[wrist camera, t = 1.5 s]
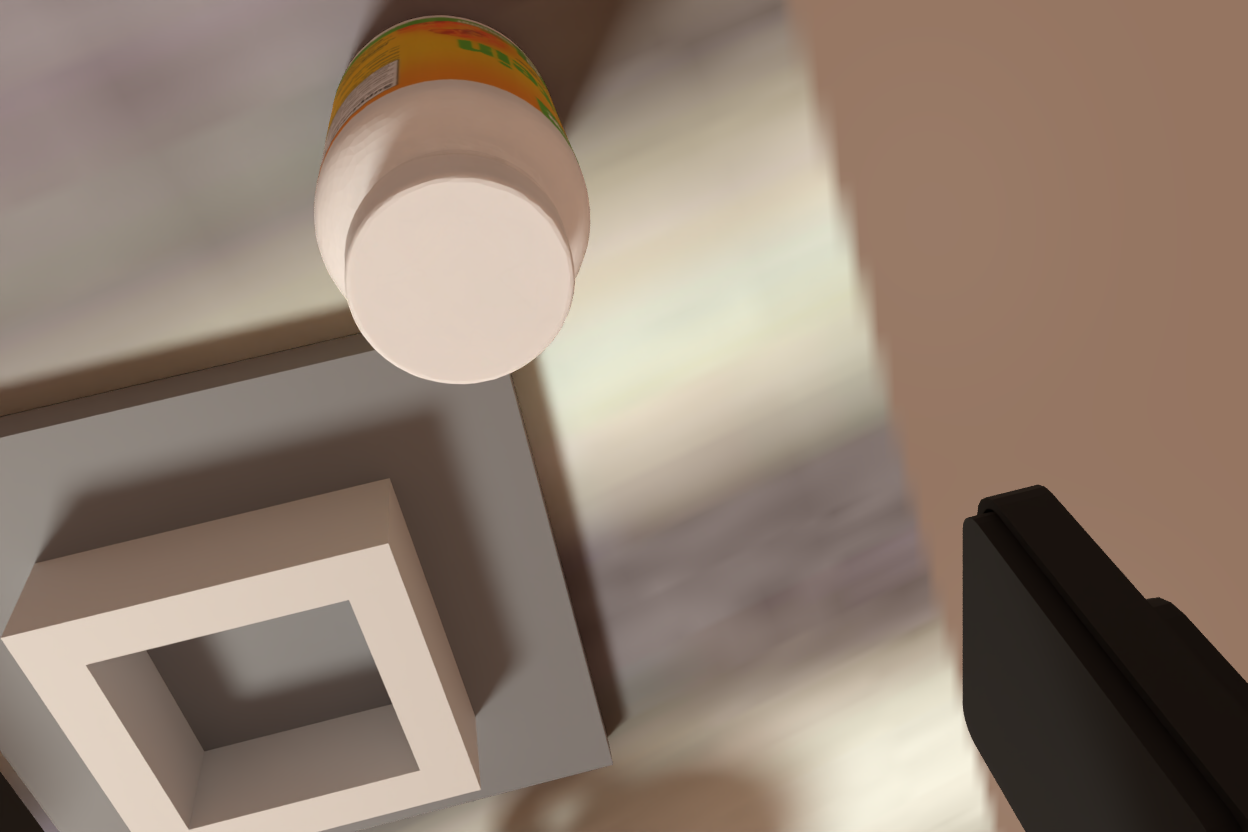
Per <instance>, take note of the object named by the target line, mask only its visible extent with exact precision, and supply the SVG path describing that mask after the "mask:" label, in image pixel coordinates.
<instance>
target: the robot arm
mask: <svg viewBox="0 0 1248 832" xmlns="http://www.w3.org/2000/svg"><path fill="white" fill-rule="evenodd" d="M963 712H964V716H965V721H966V724H967V727H968V730H969V732H970V735H971V737H972V739H973V741H974V743H975V745H976V747H977V749H978V750H979V752H980V754H981V756H982V757H983V759H984V761H985V763H986V764H987V766H988V768H989V769H990V771H991V773H992V775H993V776H994V778H995V780H996V782H997V783H998V785H999V787H1000V788H1001V790H1002V792H1003V794H1004V795H1005V797H1006V799H1007V801H1008V802H1009V804H1010V806H1011V807H1012V809H1013V811H1014V813H1015V814H1016V816H1017V818H1018V820H1019V821H1020V823H1021V825H1022V826H1023V828H1024V830H1025V831H1026V832H1248V683H1247V682H1246V681H1245V680H1244V679H1243V678H1242V677H1241V676H1240V674H1238V672H1237V671H1236V670H1235V669H1234V668H1233V667H1232V666H1231V665H1230V663H1229V662H1228V661H1227V660H1226V659H1225V658H1224V657H1223V656H1222V655H1221V654H1220V653H1219V652H1218V651H1217V649H1216V648H1215V647H1214V646H1213V645H1212V644H1211V643H1210V642H1209V641H1208V639H1207V638H1206V637H1205V636H1204V635H1203V634H1202V633H1201V632H1200V631H1199V630H1198V629H1197V627H1196V626H1195V625H1194V624H1193V623H1192V622H1191V621H1190V620H1189V619H1188V618H1187V616H1186V615H1185V614H1183V613H1182V612H1181V611H1180V610H1179V609H1178V608H1177V607H1176V606H1174V605H1173V604H1172V603H1171V602H1168V601H1166V600H1164V599H1161V598H1150V599H1145V598H1144V597H1143V596H1142V595H1141V593H1140V592H1139V591H1138V590H1137V589H1136V588H1135V587H1134V585H1133V584H1132V583H1131V582H1130V581H1129V580H1128V579H1127V577H1125V575H1124V574H1123V573H1122V572H1121V571H1120V570H1119V568H1118V567H1117V566H1116V565H1115V564H1114V563H1113V562H1112V561H1111V559H1110V558H1109V557H1108V556H1107V555H1106V554H1105V553H1104V551H1102V549H1101V548H1100V547H1099V546H1098V545H1097V544H1096V543H1095V541H1094V540H1093V539H1092V538H1091V537H1090V536H1089V535H1088V534H1087V532H1086V531H1085V530H1084V529H1083V528H1082V527H1081V525H1080V524H1079V523H1078V522H1077V521H1076V520H1075V519H1074V518H1073V516H1072V515H1071V514H1070V513H1069V512H1068V511H1067V510H1066V508H1065V507H1064V506H1063V505H1062V504H1061V503H1060V502H1059V501H1058V500H1057V498H1056V497H1055V496H1054V495H1053V494H1052V493H1051V492H1050V491H1049V490H1048V489H1047V488H1045V487H1044V486H1041V485H1035V486H1031V487H1027V488H1022V489H1019V490H1015V491H1010V492H1007V493H1003V494H998V495H994V496H990V497H986V498H984V499H982V500H981V501H980V503H979V505H978V513H977V515H976V516H972V517H969V518H966V519H965V521H964V523H963ZM0 832H44V831H43V829H42V828H41V826H40V825H39V824H38V822H37V821H36V820H35V818H34V817H33V816H32V814H31V813H30V811H29V810H28V809H27V807H26V806H25V805H24V803H23V802H22V801H21V799H20V798H19V796H18V795H17V794H16V792H15V791H14V790H13V788H12V787H11V786H10V784H9V783H8V781H7V780H6V779H5V777H4V776H3V775H2V773H1V772H0Z"/></svg>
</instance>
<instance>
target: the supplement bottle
mask: <svg viewBox="0 0 1248 832" xmlns="http://www.w3.org/2000/svg"><path fill="white" fill-rule="evenodd" d="M314 221H315V231H316V238H317V242H318V246H319V250H320V253H321V256H322V259H323V261H324V264H325V266H326V268H327V271H328V273H329V274H330V276H331V278H332V280H333V281H334V283H335V284H336V286H337V287H338V289H339V290H340V292H341V293H342V294H343V295H344V297H345V298H346V299H347V302H348V305H349V308H350V311H351V314H352V316H353V319H354V321H355V323H356V325H357V326H358V328H359V330H360V331H361V333H362V334H363V336H364V337H365V338H366V340H367V341H368V342H369V343H370V344H371V346H372V347H373V348H374V349H375V350H376V351H377V352H378V353H379V354H380V355H382V356H383V357H384V358H385V359H386V360H388V361H389V362H391V363H392V364H393V365H395V366H396V367H398V368H400V369H402V370H404V371H406V372H408V373H410V374H412V375H414V376H417V377H420V378H423V379H427V380H431V381H435V382H440V383H449V384H472V383H479V382H484V381H489V380H494V379H497V378H499V377H502V376H505V375H507V374H510V373H512V372H514V371H516V370H518V369H520V368H522V367H523V366H525V365H526V364H528V363H529V362H531V361H532V360H533V359H535V358H536V357H537V356H538V355H540V354H541V353H542V352H543V351H544V350H545V348H546V347H547V346H548V345H549V344H550V343H551V342H552V341H553V340H554V338H555V337H556V335H557V334H558V332H559V331H560V329H561V328H562V326H563V324H564V321H565V319H566V317H567V315H568V313H569V310H570V307H571V302H572V298H573V294H574V285H575V278H576V276H577V274H578V272H579V269H580V267H581V264H582V261H583V258H584V255H585V252H586V249H587V245H588V239H589V232H590V207H589V199H588V193H587V188H586V185H585V181H584V178H583V175H582V172H581V169H580V166H579V163H578V161H577V158H576V156H575V154H574V152H573V150H572V147H571V145H570V143H569V140H568V138H567V136H566V133H565V131H564V129H563V127H562V124H561V122H560V119H559V117H558V115H557V112H556V110H555V107H554V105H553V102H552V100H551V97H550V94H549V92H548V90H547V87H546V85H545V83H544V81H543V79H542V77H541V76H540V74H539V72H538V71H537V69H536V68H535V66H534V65H533V63H532V62H531V61H530V59H529V58H528V57H527V56H526V54H525V53H524V52H523V51H522V50H521V49H520V48H519V47H518V46H517V45H516V44H514V43H513V42H512V41H511V40H510V39H509V38H507V37H506V36H504V35H503V34H501V33H500V32H498V31H496V30H495V29H493V28H491V27H489V26H486V25H484V24H482V23H479V22H476V21H473V20H470V19H466V18H461V17H455V16H448V15H433V16H423V17H418V18H414V19H410V20H407V21H403V22H401V23H399V24H396V25H394V26H392V27H390V28H388V29H387V30H385V31H383V32H382V33H380V34H379V35H377V36H376V37H375V38H373V39H372V40H371V41H370V42H369V43H367V44H366V45H365V46H364V47H363V48H362V49H361V50H360V51H359V52H358V53H357V55H356V56H355V57H354V59H353V60H352V61H351V63H350V64H349V66H348V68H347V69H346V71H345V73H344V75H343V77H342V79H341V82H340V84H339V87H338V89H337V92H336V96H335V99H334V103H333V108H332V113H331V118H330V122H329V127H328V132H327V137H326V141H325V147H324V152H323V157H322V162H321V167H320V171H319V176H318V181H317V186H316V192H315V202H314Z"/></svg>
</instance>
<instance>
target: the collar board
mask: <svg viewBox="0 0 1248 832" xmlns="http://www.w3.org/2000/svg"><path fill="white" fill-rule="evenodd" d="M0 751H1V753H2V754H3V756H4V757H5V758H6V760H7V761H8V762H9V764H10V765H11V766H12V768H13V769H14V771H15V772H16V773H17V775H18V776H19V777H20V779H21V780H22V781H23V783H24V784H25V786H26V787H27V788H28V790H29V791H30V792H31V794H32V795H33V796H34V798H35V799H36V801H37V802H38V803H39V805H40V806H41V807H42V809H43V810H44V812H45V813H46V814H47V816H48V817H49V818H50V820H51V821H52V822H53V824H54V825H55V827H56V828H57V829H58V831H59V832H356V831H359V830H363V829H367V828H371V827H375V826H379V825H383V824H386V823H390V822H394V821H398V820H402V819H406V818H410V817H413V816H417V815H421V814H425V813H429V812H433V811H437V810H440V809H444V808H448V807H452V806H456V805H460V804H464V803H467V802H471V801H475V800H479V799H483V798H487V797H491V796H494V795H498V794H502V793H506V792H510V791H514V790H517V789H521V788H525V787H529V786H533V785H537V784H541V783H544V782H548V781H552V780H556V779H560V778H564V777H568V776H571V775H575V774H579V773H583V772H587V771H591V770H595V769H598V768H602V767H606V766H610V765H613V762H612V757H611V752H610V747H609V742H608V738H607V734H606V730H605V726H604V723H603V719H602V715H601V711H600V708H599V704H598V700H597V696H596V693H595V689H594V685H593V681H592V677H591V674H590V670H589V666H588V662H587V659H586V655H585V651H584V647H583V644H582V640H581V636H580V632H579V628H578V625H577V621H576V617H575V613H574V610H573V606H572V602H571V598H570V594H569V591H568V587H567V583H566V579H565V576H564V572H563V568H562V564H561V561H560V557H559V553H558V549H557V545H556V542H555V538H554V534H553V530H552V527H551V523H550V519H549V515H548V512H547V508H546V504H545V500H544V496H543V493H542V489H541V485H540V481H539V478H538V474H537V470H536V466H535V462H534V459H533V455H532V451H531V447H530V444H529V440H528V436H527V432H526V429H525V425H524V421H523V417H522V413H521V410H520V406H519V402H518V398H517V395H516V391H515V387H514V383H513V380H512V376H511V373H510V374H507V375H505V376H502V377H499V378H497V379H494V380H489V381H484V382H479V383H472V384H449V383H440V382H435V381H431V380H427V379H423V378H420V377H417V376H414V375H412V374H410V373H408V372H406V371H404V370H402V369H400V368H398V367H396V366H395V365H393V364H392V363H391V362H389V361H388V360H386V359H385V358H384V357H383V356H382V355H380V354H379V353H378V352H377V351H376V350H375V349H374V348H373V347H372V346H371V344H370V343H369V342H368V341H367V340H366V338H365V337H364V336H363V334H362V333H359V334H355V335H350V336H346V337H342V338H337V339H333V340H329V341H325V342H320V343H316V344H312V345H307V346H303V347H299V348H295V349H290V350H286V351H282V352H277V353H273V354H269V355H265V356H260V357H256V358H252V359H247V360H243V361H239V362H235V363H230V364H226V365H222V366H217V367H213V368H209V369H205V370H200V371H196V372H192V373H187V374H183V375H179V376H175V377H170V378H166V379H162V380H157V381H153V382H149V383H145V384H140V385H136V386H132V387H127V388H123V389H119V390H115V391H110V392H106V393H102V394H97V395H93V396H89V397H85V398H80V399H76V400H72V401H67V402H63V403H59V404H54V405H50V406H46V407H42V408H37V409H33V410H29V411H24V412H20V413H16V414H12V415H7V416H3V417H0Z"/></svg>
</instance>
